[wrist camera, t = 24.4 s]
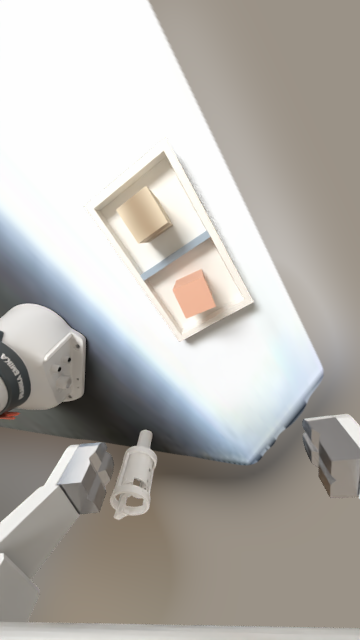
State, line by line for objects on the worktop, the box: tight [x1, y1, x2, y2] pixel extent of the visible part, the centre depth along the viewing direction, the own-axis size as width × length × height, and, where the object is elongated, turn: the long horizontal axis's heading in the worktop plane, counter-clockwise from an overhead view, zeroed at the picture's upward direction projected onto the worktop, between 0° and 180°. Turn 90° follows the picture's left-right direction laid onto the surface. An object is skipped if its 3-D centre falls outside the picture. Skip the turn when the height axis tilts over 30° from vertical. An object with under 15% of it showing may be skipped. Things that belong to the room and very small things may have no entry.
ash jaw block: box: [116, 186, 173, 244], centre depth 28 cm, size 4×4×7 cm
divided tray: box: [84, 137, 254, 342], centre depth 32 cm, size 25×14×3 cm, turn 32°
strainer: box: [110, 430, 157, 520], centre depth 42 cm, size 7×7×15 cm
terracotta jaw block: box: [173, 269, 216, 319], centre depth 31 cm, size 4×4×7 cm
